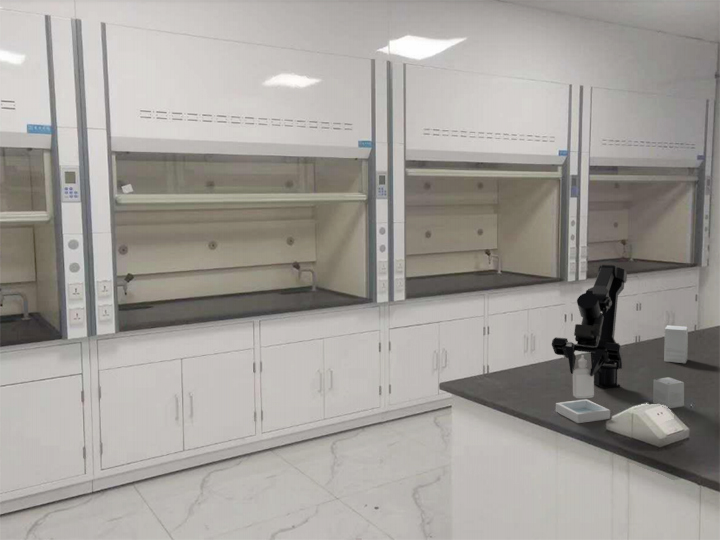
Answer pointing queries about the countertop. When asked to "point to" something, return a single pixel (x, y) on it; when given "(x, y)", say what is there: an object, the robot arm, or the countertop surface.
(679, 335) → the supplement box
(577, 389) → the eye dropper bottle
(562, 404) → the square tray
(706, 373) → the countertop surface
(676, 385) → the skincare box
